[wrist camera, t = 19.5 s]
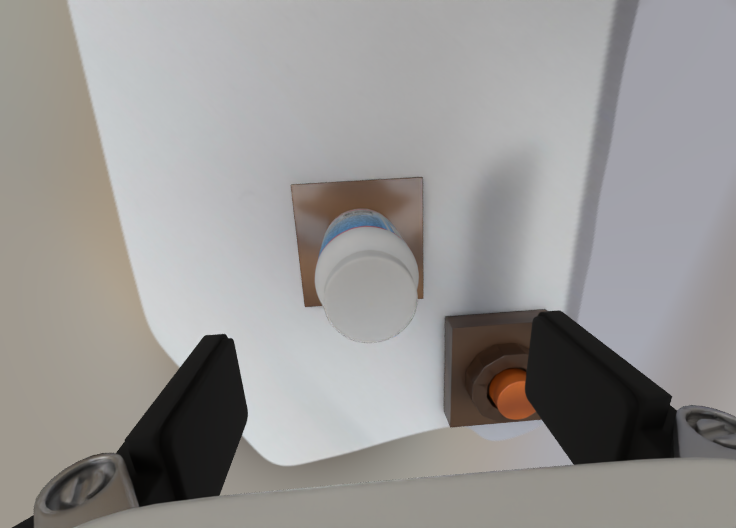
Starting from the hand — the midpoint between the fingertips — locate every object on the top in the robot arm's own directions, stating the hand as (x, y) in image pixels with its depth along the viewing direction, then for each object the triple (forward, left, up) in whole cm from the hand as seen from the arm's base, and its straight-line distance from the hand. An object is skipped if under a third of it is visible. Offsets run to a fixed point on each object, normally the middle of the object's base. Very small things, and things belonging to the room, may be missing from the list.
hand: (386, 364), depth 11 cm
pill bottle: (+1, 0, -18) cm, 18 cm away
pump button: (+13, +11, -14) cm, 22 cm away
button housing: (+13, +11, -18) cm, 25 cm away
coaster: (+1, 0, -18) cm, 18 cm away
